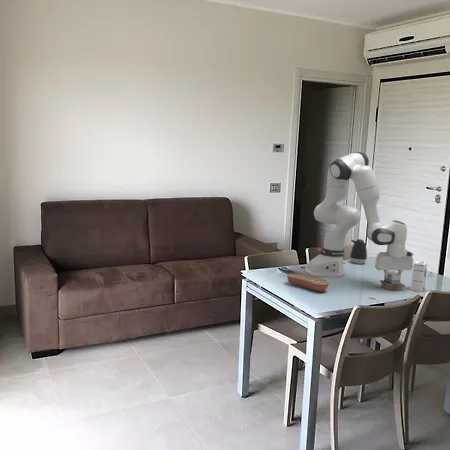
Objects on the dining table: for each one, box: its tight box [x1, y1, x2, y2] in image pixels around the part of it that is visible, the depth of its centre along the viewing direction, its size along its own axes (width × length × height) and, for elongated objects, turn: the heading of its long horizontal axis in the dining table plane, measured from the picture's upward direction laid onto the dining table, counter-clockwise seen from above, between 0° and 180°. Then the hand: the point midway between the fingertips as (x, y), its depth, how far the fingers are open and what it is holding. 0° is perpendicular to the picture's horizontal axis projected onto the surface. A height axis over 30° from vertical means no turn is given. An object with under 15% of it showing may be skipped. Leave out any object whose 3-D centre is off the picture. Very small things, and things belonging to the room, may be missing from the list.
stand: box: [379, 279, 406, 292], centre depth 261 cm, size 9×9×3 cm
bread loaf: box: [286, 272, 330, 293], centre depth 254 cm, size 23×10×5 cm, turn 49°
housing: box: [383, 270, 402, 285], centre depth 260 cm, size 5×7×5 cm
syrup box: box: [410, 260, 428, 292], centre depth 260 cm, size 6×6×14 cm
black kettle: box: [349, 238, 368, 265], centre depth 311 cm, size 10×10×15 cm
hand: (392, 277), depth 260 cm, fingers closed on housing, 5 cm apart
